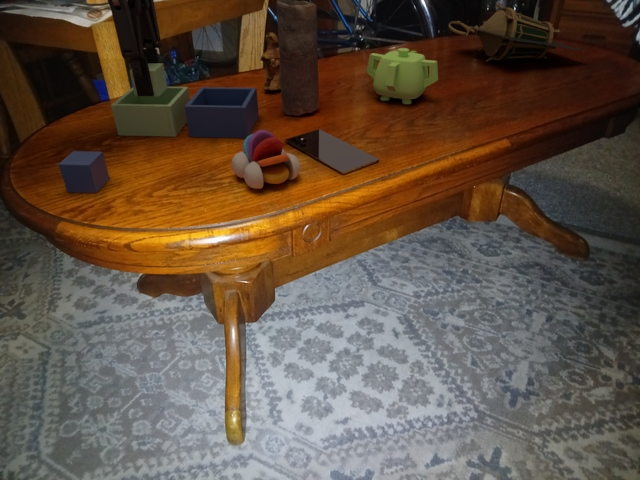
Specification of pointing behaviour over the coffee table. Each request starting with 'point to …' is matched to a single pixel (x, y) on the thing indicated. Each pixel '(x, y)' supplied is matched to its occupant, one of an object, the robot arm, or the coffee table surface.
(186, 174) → the coffee table surface
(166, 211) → the coffee table surface
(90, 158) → the blue block
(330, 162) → the smartphone
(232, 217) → the coffee table surface
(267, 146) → the rainbow puzzle ball
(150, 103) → the green bin
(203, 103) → the blue bin
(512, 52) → the lantern
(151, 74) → the green block
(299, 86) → the candle
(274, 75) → the figurine
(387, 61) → the green lidded pot
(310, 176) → the coffee table surface
